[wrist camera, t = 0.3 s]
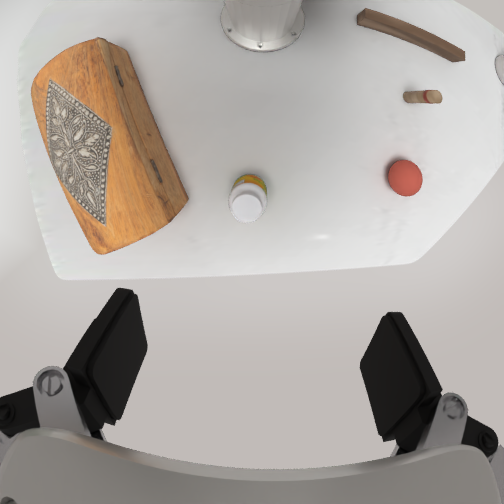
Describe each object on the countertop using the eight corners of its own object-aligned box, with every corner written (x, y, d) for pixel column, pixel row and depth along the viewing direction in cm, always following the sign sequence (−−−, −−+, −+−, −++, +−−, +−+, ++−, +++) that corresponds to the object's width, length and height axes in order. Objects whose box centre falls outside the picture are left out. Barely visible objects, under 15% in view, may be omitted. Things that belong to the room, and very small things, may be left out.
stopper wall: (357, 15, 28) (365, 7, 25) (452, 53, 28) (464, 51, 25) (357, 24, 29) (365, 17, 26) (452, 62, 29) (465, 60, 26)
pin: (403, 90, 34) (432, 87, 26) (413, 93, 34) (442, 92, 26) (402, 101, 35) (431, 101, 27) (412, 104, 35) (442, 105, 27)
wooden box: (62, 94, 35) (11, 98, 23) (131, 46, 32) (86, 29, 20) (116, 230, 48) (79, 267, 35) (191, 200, 45) (165, 233, 33)
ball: (385, 154, 39) (402, 160, 34) (414, 161, 39) (432, 168, 34) (379, 187, 42) (394, 198, 37) (407, 193, 42) (424, 203, 37)
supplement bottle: (273, 192, 44) (276, 212, 35) (247, 211, 45) (243, 236, 37) (252, 166, 42) (250, 180, 33) (226, 187, 43) (217, 205, 35)
